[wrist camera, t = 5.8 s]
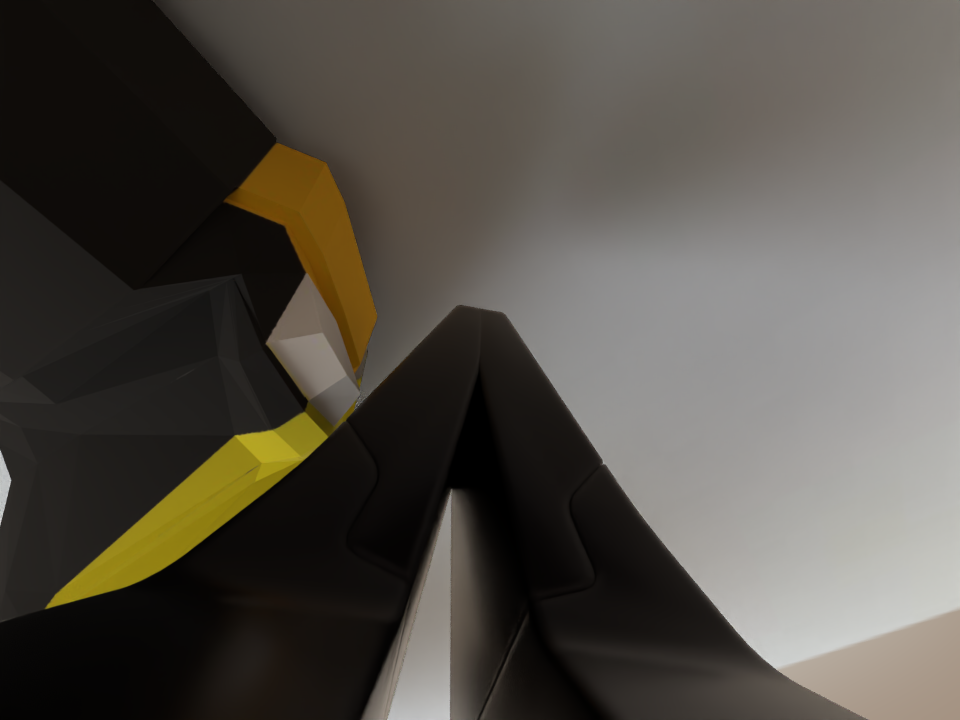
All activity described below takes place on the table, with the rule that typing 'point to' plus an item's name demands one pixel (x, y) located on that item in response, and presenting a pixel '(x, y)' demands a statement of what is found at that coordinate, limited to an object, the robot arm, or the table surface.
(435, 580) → the table surface
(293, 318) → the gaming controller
